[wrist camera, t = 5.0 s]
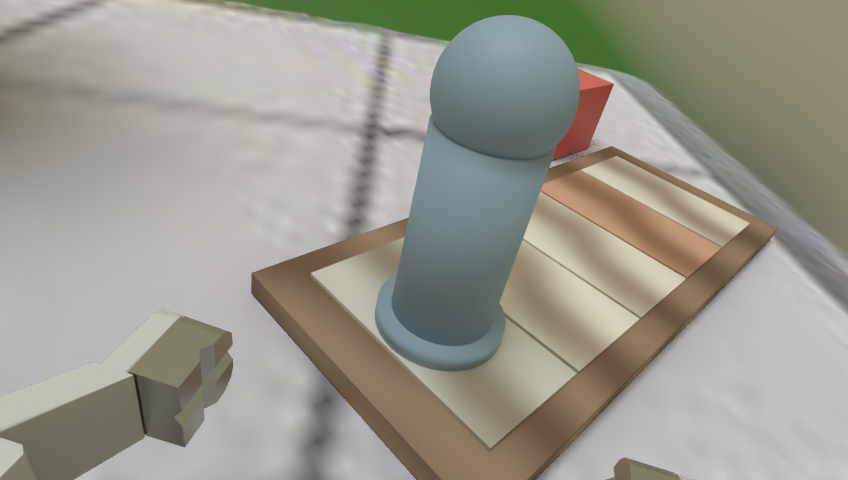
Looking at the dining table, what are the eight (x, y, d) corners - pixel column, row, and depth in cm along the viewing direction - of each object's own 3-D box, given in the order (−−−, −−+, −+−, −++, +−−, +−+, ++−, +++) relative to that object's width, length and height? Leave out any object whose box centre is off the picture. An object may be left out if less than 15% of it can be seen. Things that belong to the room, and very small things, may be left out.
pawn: (438, 394, 20) (548, 54, 12) (348, 306, 22) (395, -10, 15) (525, 334, 23) (649, 44, 16) (437, 265, 26) (510, -6, 19)
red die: (551, 161, 43) (577, 89, 40) (496, 131, 46) (516, 61, 43) (587, 148, 47) (614, 82, 44) (535, 121, 50) (556, 57, 47)
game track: (473, 542, 17) (484, 521, 16) (251, 293, 24) (251, 269, 23) (768, 241, 39) (779, 225, 38) (606, 158, 46) (613, 144, 45)
